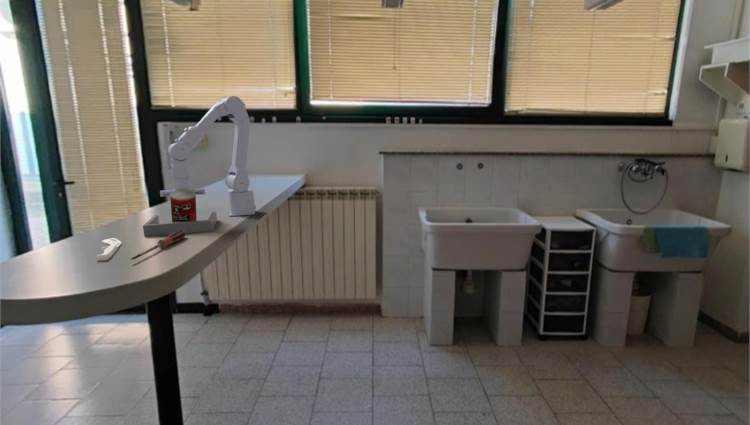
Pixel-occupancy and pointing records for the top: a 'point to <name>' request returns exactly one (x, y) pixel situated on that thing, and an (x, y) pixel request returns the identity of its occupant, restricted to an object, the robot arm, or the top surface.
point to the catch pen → (178, 226)
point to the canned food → (183, 206)
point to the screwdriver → (165, 242)
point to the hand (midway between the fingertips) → (185, 215)
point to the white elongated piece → (109, 249)
